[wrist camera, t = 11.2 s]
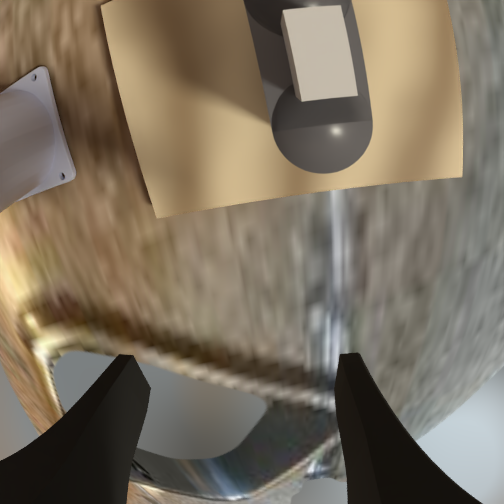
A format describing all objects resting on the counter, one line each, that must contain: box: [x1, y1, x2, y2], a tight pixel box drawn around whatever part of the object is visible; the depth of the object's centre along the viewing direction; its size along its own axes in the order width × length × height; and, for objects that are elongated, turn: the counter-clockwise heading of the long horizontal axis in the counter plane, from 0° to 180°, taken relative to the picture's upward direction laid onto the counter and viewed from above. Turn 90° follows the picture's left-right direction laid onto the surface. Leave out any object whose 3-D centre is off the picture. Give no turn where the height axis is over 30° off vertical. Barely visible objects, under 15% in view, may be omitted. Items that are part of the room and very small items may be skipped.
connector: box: [243, 0, 373, 174], centre depth 10 cm, size 3×8×8 cm, turn 11°
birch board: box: [101, 0, 463, 218], centre depth 14 cm, size 18×13×1 cm
